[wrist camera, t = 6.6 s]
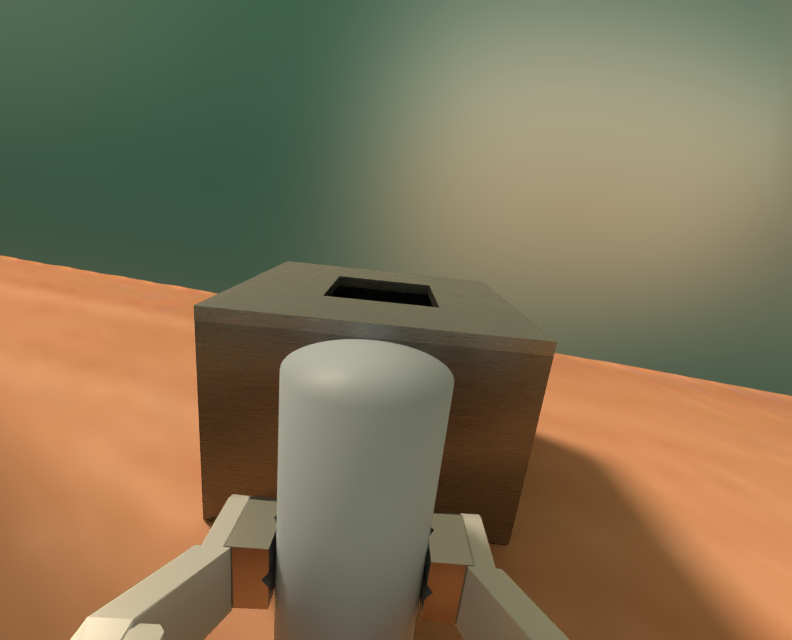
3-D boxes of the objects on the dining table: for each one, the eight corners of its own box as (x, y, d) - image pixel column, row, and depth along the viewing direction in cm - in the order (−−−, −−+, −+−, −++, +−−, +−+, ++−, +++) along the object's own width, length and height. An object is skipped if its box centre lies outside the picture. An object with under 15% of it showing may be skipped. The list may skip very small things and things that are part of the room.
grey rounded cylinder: (252, 805, 9) (252, 401, 6) (291, 642, 13) (303, 333, 10) (399, 813, 9) (469, 422, 6) (398, 650, 13) (442, 347, 10)
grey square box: (203, 519, 17) (193, 305, 14) (284, 388, 29) (287, 261, 27) (508, 544, 17) (556, 341, 15) (461, 405, 30) (482, 281, 27)
